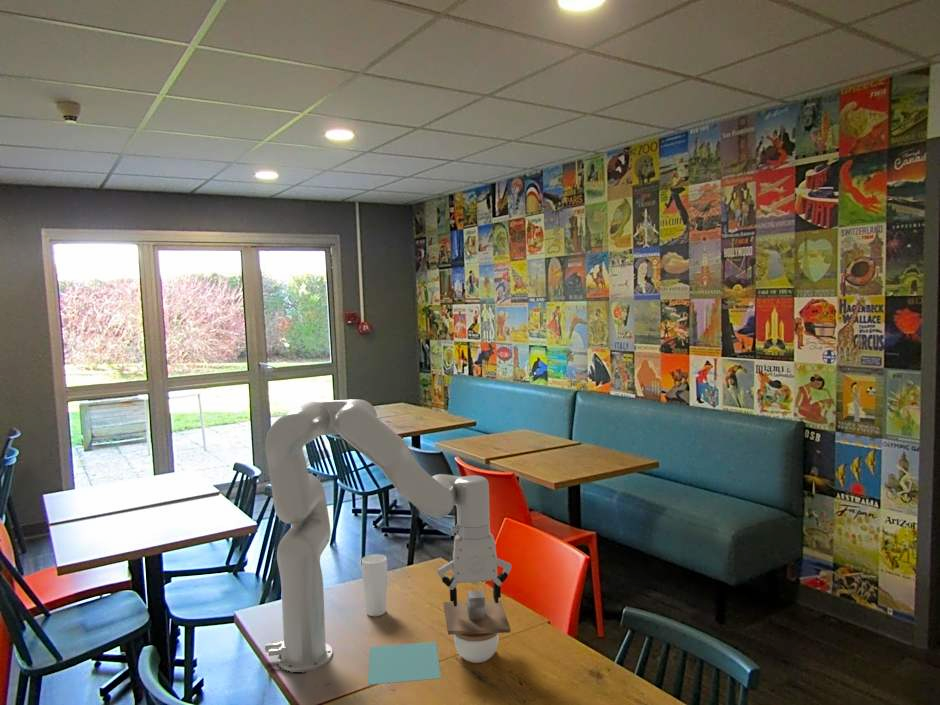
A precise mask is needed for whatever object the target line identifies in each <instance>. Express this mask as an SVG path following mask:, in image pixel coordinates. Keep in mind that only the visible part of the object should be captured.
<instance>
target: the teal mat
mask: <svg viewBox="0 0 940 705" xmlns="http://www.w3.org/2000/svg"><path fill="white" fill-rule="evenodd" d="M441 678H442V675H441V668H440V661H439V652H438V645H437V641H426V642H416V643H414V642H413V643H403V644H391V645H390V644H389V645H379V646H377V645H376V646H370V647H369V660H368V674H367V686H369V685H371V686H372V685H381V684H392V683H403V682H404V683H405V682H414V681H425V680H436V679H437V680H438V679H441Z"/></svg>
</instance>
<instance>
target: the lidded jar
mask: <svg viewBox="0 0 940 705" xmlns="http://www.w3.org/2000/svg"><path fill="white" fill-rule="evenodd" d="M499 637H500V633H482V634H453V640H454V647H455V649H456V651H457V652H458V654H459V656H460V657H461V658H462V659H463V660H465V661H466V662H469V663H471V664H472V663H473V664H479V663H481V664H482V663H484V662H486V661H488V660H490V659H491V658H492V657H493V656H494V655H495V653H496V651H497V649H498V645H499Z"/></svg>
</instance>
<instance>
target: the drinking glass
mask: <svg viewBox="0 0 940 705" xmlns="http://www.w3.org/2000/svg"><path fill="white" fill-rule="evenodd" d="M361 574H362V575H361V576H362V582H363V583H362V584H363V592H364V600H365V612H366V614H367V615H368V616H369V617H380V616H383V615H385V613H386V611H387V587H388V558H387V556H386V555H384V554H377V553H376V554H368V555H366V556H363V557H362V558H361Z"/></svg>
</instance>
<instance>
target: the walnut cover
mask: <svg viewBox="0 0 940 705" xmlns="http://www.w3.org/2000/svg"><path fill="white" fill-rule="evenodd" d="M443 610H444V616H445V617H444V618H445V623H446V629H447V630H446V631H447V635H448V636H449V635H454V634H482V633H499V634H504V633H505V634H506V633H509V634H510V633H511V630H512V629H511V626H510V623H509V621H508V617H507V614H506V612H505V609H504V606H503V603H502V601H501V600H498V603H495V601H494V600H488V601H487V600H486V596H485V593H484V590H467V601H457V606H454V604H453V601H445V602H443Z"/></svg>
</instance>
